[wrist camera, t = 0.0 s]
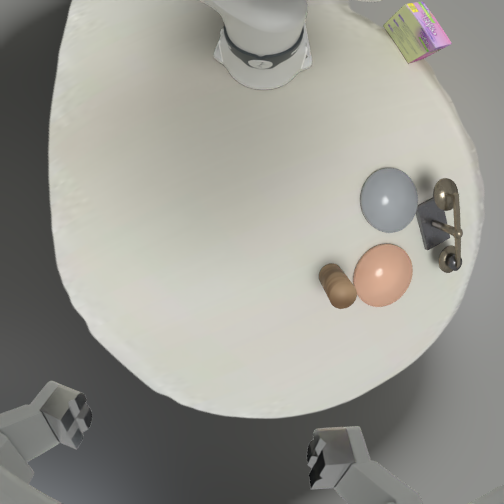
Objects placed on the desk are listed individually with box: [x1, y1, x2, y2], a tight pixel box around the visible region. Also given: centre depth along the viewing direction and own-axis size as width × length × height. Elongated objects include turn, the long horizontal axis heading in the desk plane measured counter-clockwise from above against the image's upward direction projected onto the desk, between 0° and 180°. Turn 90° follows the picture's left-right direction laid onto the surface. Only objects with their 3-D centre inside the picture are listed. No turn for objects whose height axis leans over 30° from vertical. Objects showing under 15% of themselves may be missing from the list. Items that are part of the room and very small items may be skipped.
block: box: [319, 264, 357, 309], centre depth 53 cm, size 5×5×10 cm
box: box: [383, 2, 452, 64], centre depth 36 cm, size 10×6×12 cm, turn 30°
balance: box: [416, 178, 463, 273], centre depth 47 cm, size 21×7×13 cm, turn 26°
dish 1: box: [360, 168, 418, 233], centre depth 52 cm, size 13×13×1 cm
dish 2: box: [353, 244, 413, 307], centre depth 56 cm, size 14×14×1 cm
